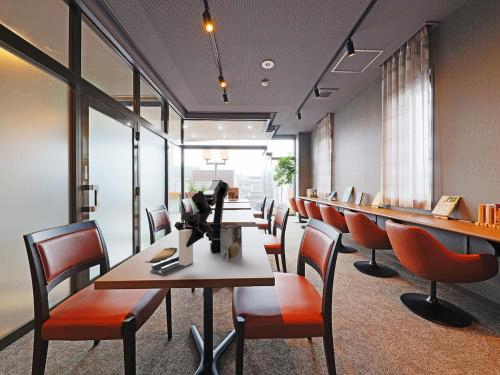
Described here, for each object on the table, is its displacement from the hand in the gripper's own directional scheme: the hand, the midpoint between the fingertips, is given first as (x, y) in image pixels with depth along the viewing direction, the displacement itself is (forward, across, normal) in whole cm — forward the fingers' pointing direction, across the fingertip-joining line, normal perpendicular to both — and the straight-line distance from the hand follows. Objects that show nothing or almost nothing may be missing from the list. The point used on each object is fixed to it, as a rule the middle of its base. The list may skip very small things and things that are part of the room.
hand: (183, 246), depth 97 cm
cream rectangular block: (+4, 0, +6) cm, 8 cm away
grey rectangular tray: (+6, -10, +10) cm, 15 cm away
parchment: (-1, -29, +18) cm, 34 cm away
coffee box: (-10, +6, +27) cm, 29 cm away
